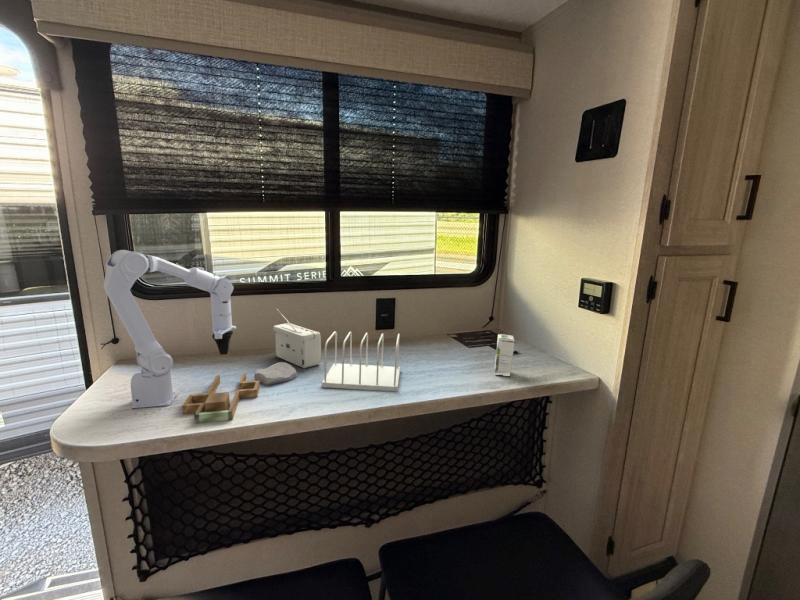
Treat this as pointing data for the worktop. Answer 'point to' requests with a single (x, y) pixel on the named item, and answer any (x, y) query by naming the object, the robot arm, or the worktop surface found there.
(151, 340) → the robot arm
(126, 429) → the worktop surface
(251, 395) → the trap lane
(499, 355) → the syrup box
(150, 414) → the worktop surface
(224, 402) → the walnut block
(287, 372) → the stone block
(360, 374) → the file sorter
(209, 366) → the worktop surface
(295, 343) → the stereo radio cassette player
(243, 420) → the worktop surface
